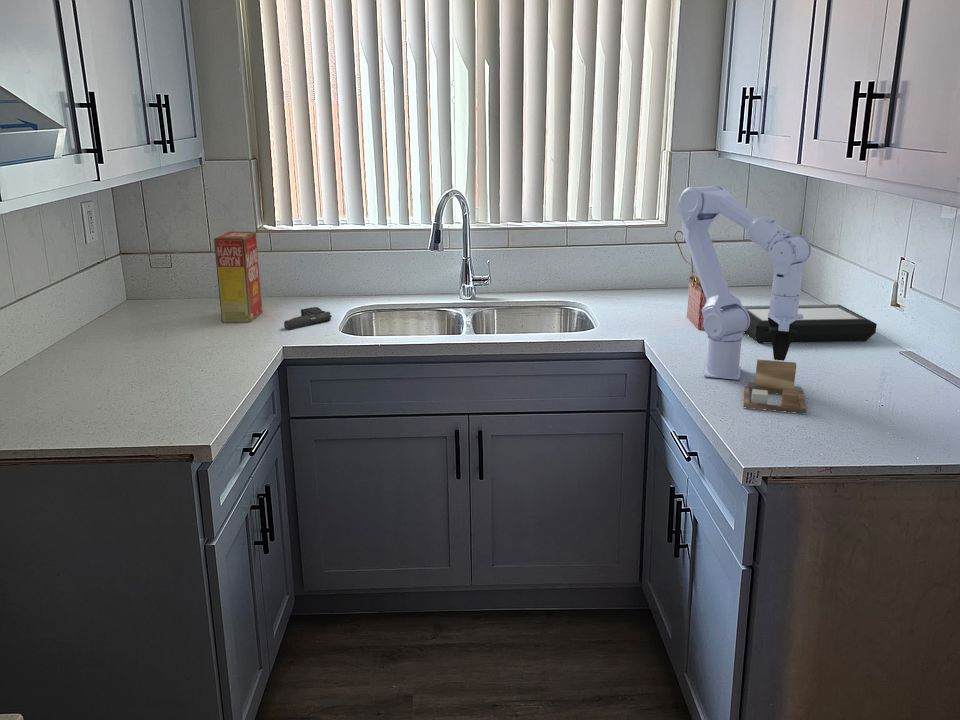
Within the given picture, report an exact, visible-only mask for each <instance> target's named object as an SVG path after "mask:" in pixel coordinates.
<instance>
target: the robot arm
mask: <svg viewBox="0 0 960 720" xmlns="http://www.w3.org/2000/svg"><path fill="white" fill-rule="evenodd" d="M676 206H677V208H678V210H679V213H680V216H681V232H682V233H683V234H682V236H683V238H684V240H685V244H686V247H687V249H688V251H689V256H690V255H691V256H690V259H691V258H692V261H693V265H694V266H693V267H694V268H695V271H696V275H697V277H698V278H699V280H700V283H701V286H702V289H703V292H704V294H705V297H706V300H707V302H706V304H705V306H704V307H703V309H702V314H703V318H704V323H703V325H704V330H703V331H704V332H705V333H706V335H707V338H708V346H707V349H708V350H707V358H706V359H707V361H706V363H705V367H704V373H703V377H705V378H713V379H726V380H738V381H739V380H740V379H741V366H740V360H741V351H742V349H741V348H742V338H743V337H744V334H745V333H744V332H745V331H746V330H747V329H748V327H749V325H750V316H749V314H748V312H747V311H746V309H745V308H744V307H743V306H744V305H743V304H742V303H741V302H742V301H741V300H740V299H739V298H738V297H737V296H736V295H734V294H733V293H731V291H730V288H729V285H728V283H727V280H726V277H725V275H724V271H723V269H722V266H721V263H720V260H719V258H718V255H717V252H716V249H715V246H714V243H713V241H712V238H711V235H710V233H709V232H710V231H709V228H710V227H711V224H713V222H714V221H715V220H716V218H717V217H718V216H719V215H720V214H721V215H723V217H725V218H727V219H728V220H730V221H732V222H734V223H735V224H736V225H738V226H739V227H741V228H743V229H744V230H746V231H747V237H748V239H749V240H751V242H752V243H754V244H755V245H757V246H759V247H760V248H761V249H762V250H764V251H766V252H767V254H769V257H770V260H771V262H772V265H773V266H772V271H773V277H772V284H771V294H770V303H769V306H770V311H769V312H768V321H769V323H770V326H771V327H769V332H770V335H771V338H772V343H771V344H772V355H773V361H783V362H785V360H786V357H787V355H788V352H789V349H790V345H791V343H793V342H792V340H793V338H794V337H795V336H796V334H797V330H790V329H791V327H792V325H793V324H794V322H795V321H796V320H797V319H803V314H798V307H799V305H800V299H801V298H800V296H801V291H802V290H801V289H802V281H803V275H804V274H803V273H804V272H803V271H804V263H805V262H806V261H808V260H809V258H810V256H811V253H812V246H811V243H810V242H809V240H807V239H806V237H805V236H804V235H802V234H801V235H800V234H798V235H793V234H792V231H791V230H789V229H784V228H783V227H782V226H780V225H779V224H778V223H776V222H775V221H776V219H775V218H774V217H772V216H760V217H758V216H756V215H755V214H754V213H753V212H751V211H750V210H749V209H748V208H746V206H744V205H743V204H742V203H741V202H740V201H738V200H737V199H736V198H735V197H733V196H732V194H731V192H730V190H727V189H725V188H723V187H722V185H719V184H713V185H708V186H698V187H693V186H692V187H691V186H689V187H687V188H685V189H684V190H683V191H682V192H681V195H680V197H679V199H678V201H677V204H676Z"/></svg>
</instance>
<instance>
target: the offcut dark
mask: <svg viewBox="0 0 960 720" xmlns="http://www.w3.org/2000/svg"><path fill="white" fill-rule="evenodd" d="M781 397H782V398H781V405H782V406H789V407H799V403H798V399H799V392H798V391H795V390H784V389H783V394H782V396H781ZM781 405H780V406H781Z"/></svg>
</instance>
